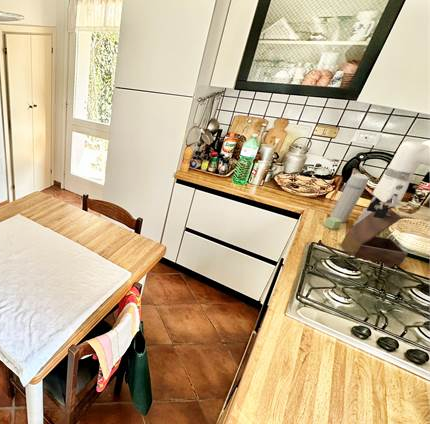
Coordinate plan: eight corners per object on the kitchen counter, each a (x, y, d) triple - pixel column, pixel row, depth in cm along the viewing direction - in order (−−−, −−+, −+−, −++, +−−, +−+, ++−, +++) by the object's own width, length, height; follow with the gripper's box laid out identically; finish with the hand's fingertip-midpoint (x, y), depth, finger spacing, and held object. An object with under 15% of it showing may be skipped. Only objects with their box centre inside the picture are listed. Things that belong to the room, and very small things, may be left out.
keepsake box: (382, 252, 139) (391, 238, 135) (397, 269, 129) (408, 254, 125) (340, 245, 144) (348, 231, 140) (351, 260, 134) (360, 245, 130)
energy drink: (364, 229, 157) (377, 209, 151) (367, 234, 153) (380, 213, 147) (351, 226, 159) (363, 206, 154) (353, 231, 155) (365, 210, 150)
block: (338, 228, 158) (342, 221, 155) (331, 229, 157) (335, 221, 154) (329, 224, 161) (333, 216, 159) (323, 224, 160) (327, 217, 158)
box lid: (385, 204, 131) (375, 198, 131) (402, 217, 120) (390, 211, 121) (349, 230, 140) (339, 224, 140) (362, 245, 130) (351, 238, 130)
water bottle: (346, 219, 166) (370, 176, 154) (345, 224, 161) (370, 180, 149) (325, 213, 172) (347, 171, 160) (324, 218, 167) (345, 175, 155)
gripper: (424, 183, 112) (396, 225, 120) (398, 168, 126) (375, 207, 134) (398, 180, 114) (373, 222, 123) (375, 165, 128) (354, 204, 137)
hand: (374, 213), depth 128 cm, fingers closed on box lid, 5 cm apart
